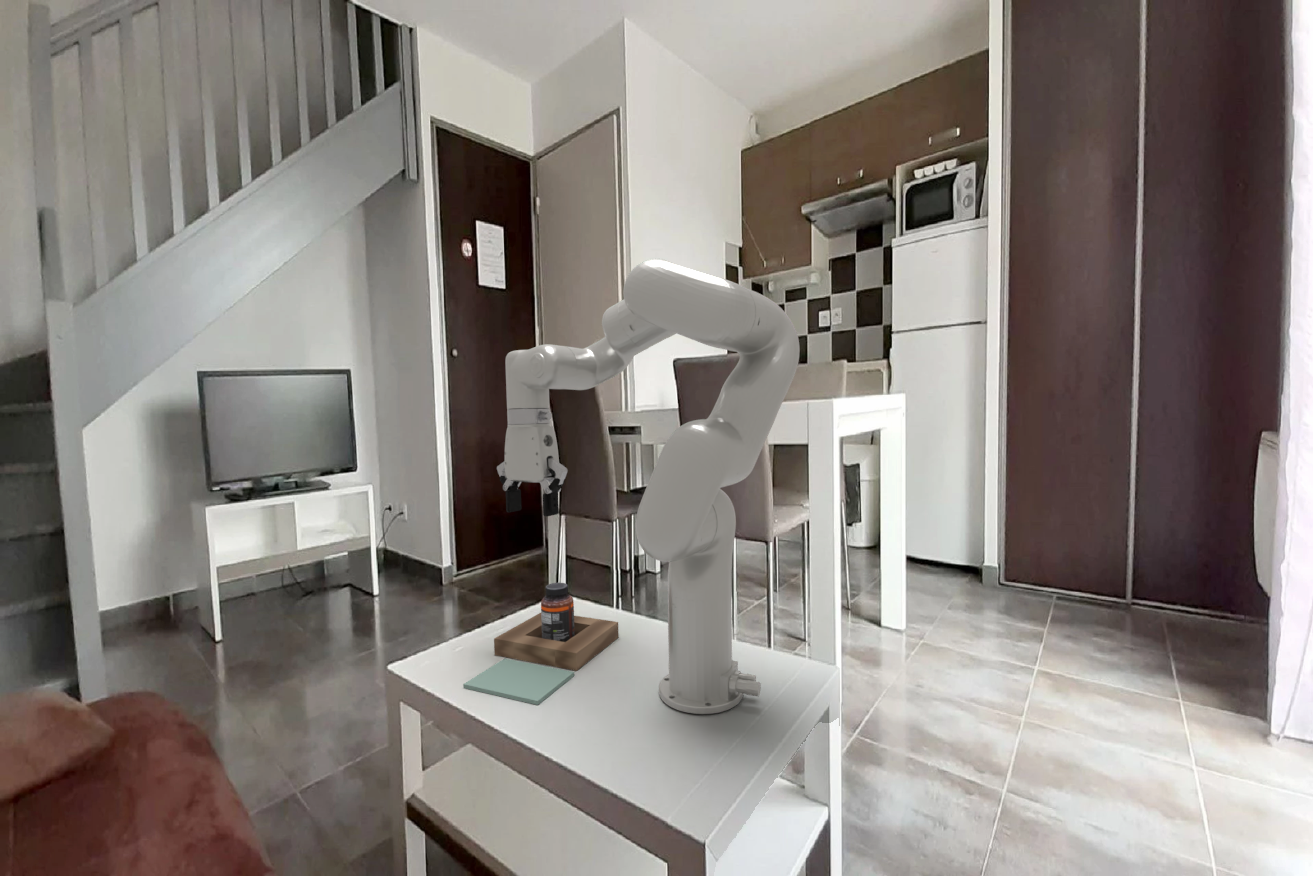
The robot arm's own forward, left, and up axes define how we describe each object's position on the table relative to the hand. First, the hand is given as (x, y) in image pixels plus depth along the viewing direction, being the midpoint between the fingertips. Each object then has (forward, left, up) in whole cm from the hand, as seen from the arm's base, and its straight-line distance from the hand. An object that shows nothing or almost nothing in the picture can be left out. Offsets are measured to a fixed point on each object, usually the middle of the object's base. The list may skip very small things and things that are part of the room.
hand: (532, 513), depth 101 cm
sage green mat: (-6, +12, -25) cm, 28 cm away
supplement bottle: (-4, -2, -25) cm, 25 cm away
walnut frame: (-4, -2, -25) cm, 25 cm away
